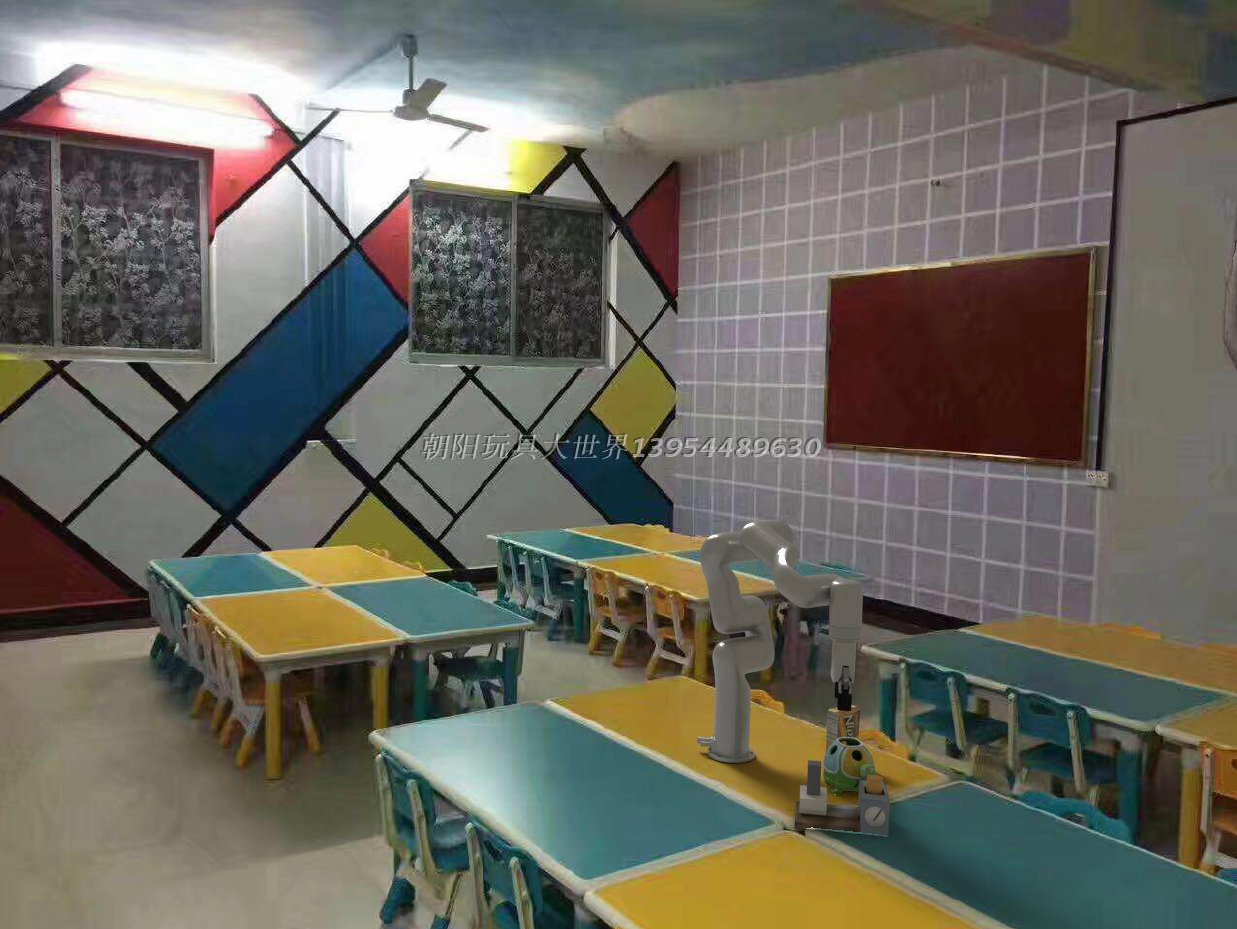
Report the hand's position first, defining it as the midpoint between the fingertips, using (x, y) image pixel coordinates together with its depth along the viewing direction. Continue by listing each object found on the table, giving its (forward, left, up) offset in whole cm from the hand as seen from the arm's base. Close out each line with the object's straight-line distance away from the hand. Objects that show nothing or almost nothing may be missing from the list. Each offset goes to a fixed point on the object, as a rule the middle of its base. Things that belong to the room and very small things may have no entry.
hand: (842, 704), depth 244 cm
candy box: (+1, +28, -25) cm, 37 cm away
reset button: (+7, -9, -18) cm, 21 cm away
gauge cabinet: (+7, -9, -25) cm, 27 cm away
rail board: (-3, -9, -25) cm, 26 cm away
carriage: (-6, -9, -23) cm, 25 cm away
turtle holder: (+3, +11, -25) cm, 27 cm away
